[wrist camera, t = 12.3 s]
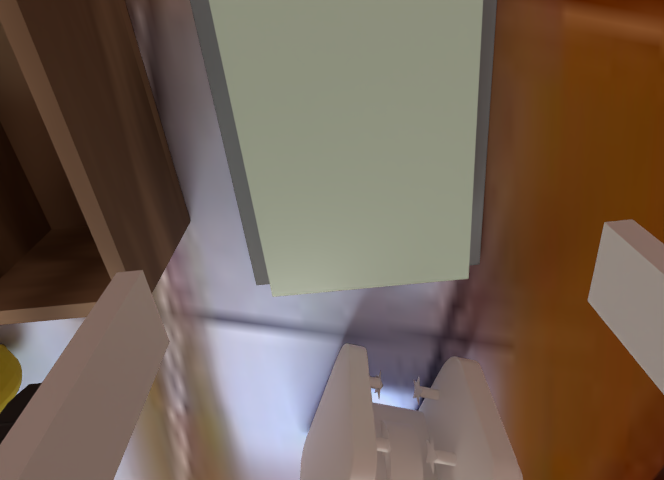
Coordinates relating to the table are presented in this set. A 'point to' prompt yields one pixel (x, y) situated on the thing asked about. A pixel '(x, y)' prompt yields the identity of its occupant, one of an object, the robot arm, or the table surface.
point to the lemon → (8, 376)
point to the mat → (234, 153)
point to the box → (78, 160)
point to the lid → (356, 136)
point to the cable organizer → (407, 428)
